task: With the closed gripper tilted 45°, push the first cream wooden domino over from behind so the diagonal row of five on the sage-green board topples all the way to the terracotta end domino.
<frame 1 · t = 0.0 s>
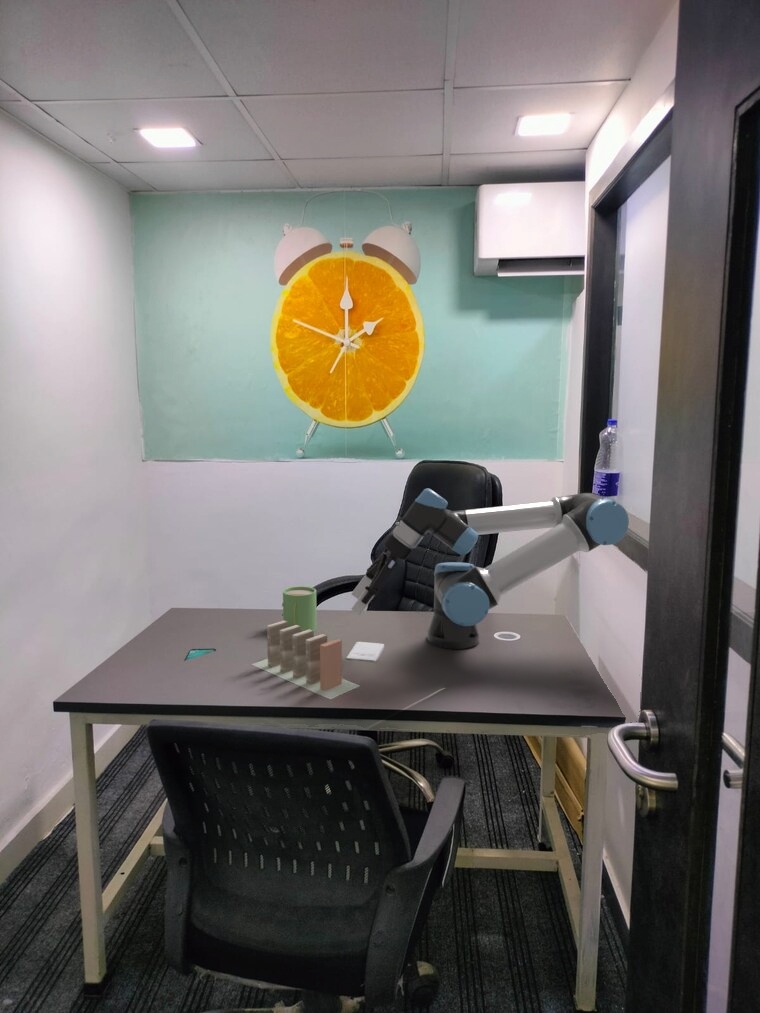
hand: (355, 604, 172), 15 cm above the table, tool tilted 35°, fingers open, 13 cm apart
domino 2: (290, 669, 166), point 1 cm above the table, touching board
external hard drive: (365, 656, 178), on the table
board: (303, 676, 162), on the table
domino 3: (303, 674, 162), point 1 cm above the table, touching board
domino 4: (316, 680, 159), point 1 cm above the table, touching board
domino 1: (278, 663, 169), point 1 cm above the table, touching board
mug: (298, 630, 197), on the table
smartphone: (198, 662, 173), on the table
domino 5: (331, 686, 156), point 1 cm above the table, touching board
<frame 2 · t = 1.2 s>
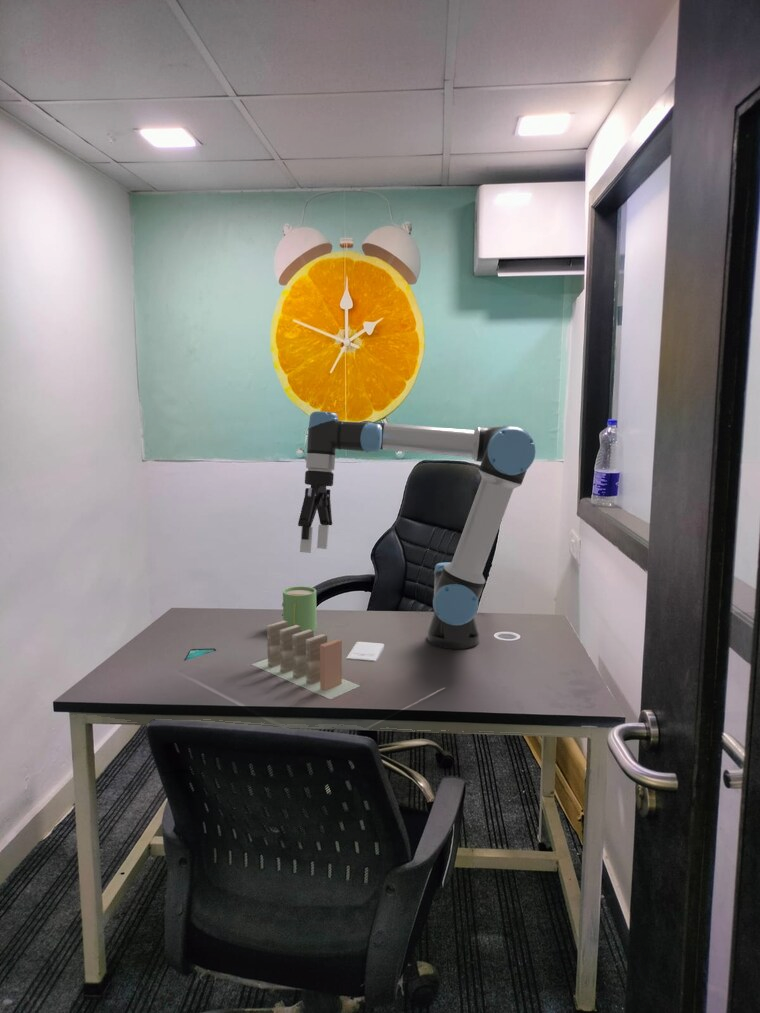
hand: (314, 550, 171), 30 cm above the table, tool pointing down, fingers open, 13 cm apart
nothing on the table moved.
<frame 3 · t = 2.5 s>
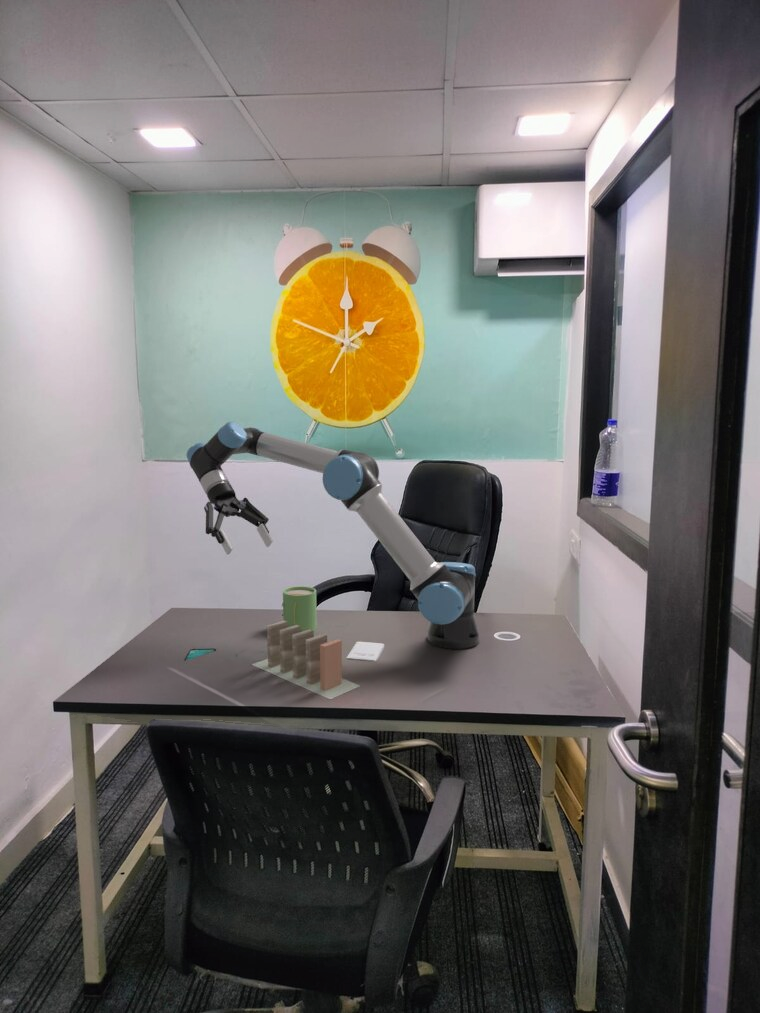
hand: (250, 547, 180), 28 cm above the table, tool tilted 45°, fingers open, 13 cm apart
nothing on the table moved.
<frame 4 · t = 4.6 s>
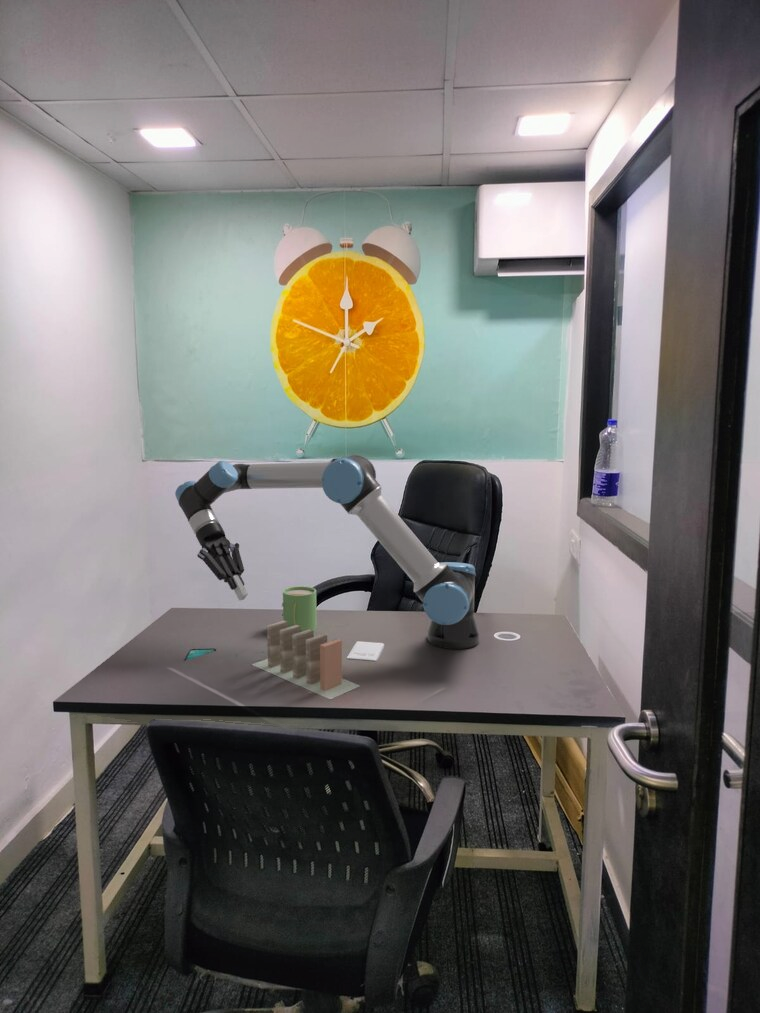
hand: (243, 597, 175), 16 cm above the table, tool tilted 45°, fingers closed
nothing on the table moved.
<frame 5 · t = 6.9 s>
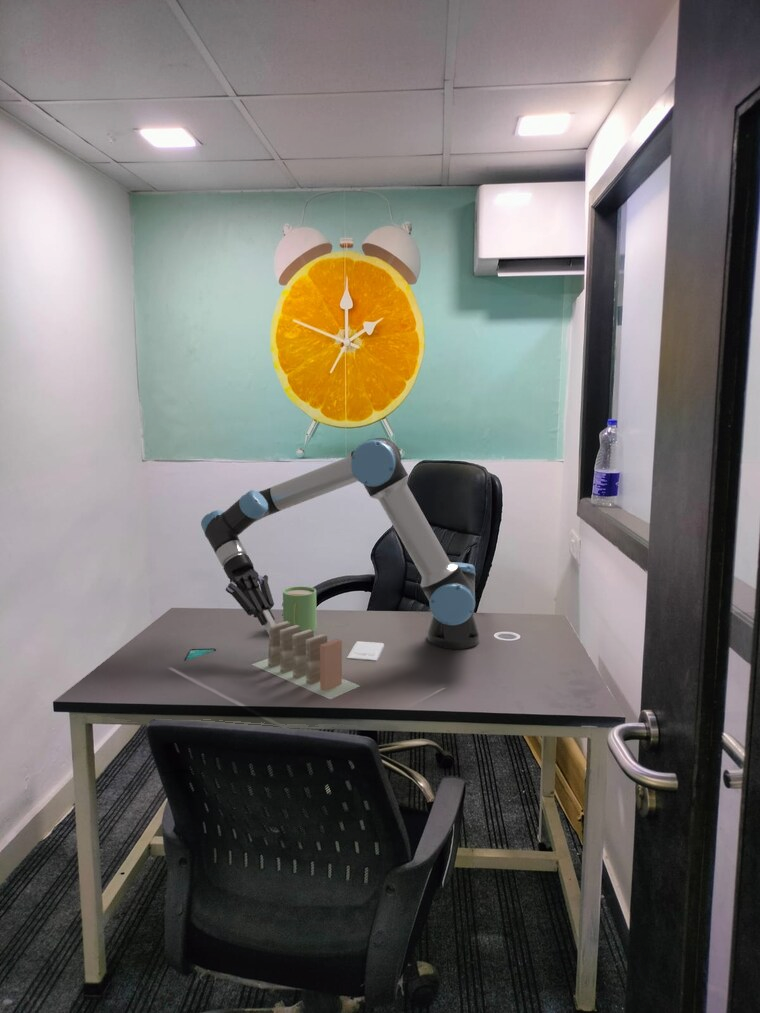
hand: (274, 633, 168), 9 cm above the table, tool tilted 45°, fingers closed
domino 1: (278, 663, 169), point 1 cm above the table, tilted 5°, touching board
everything else where it was.
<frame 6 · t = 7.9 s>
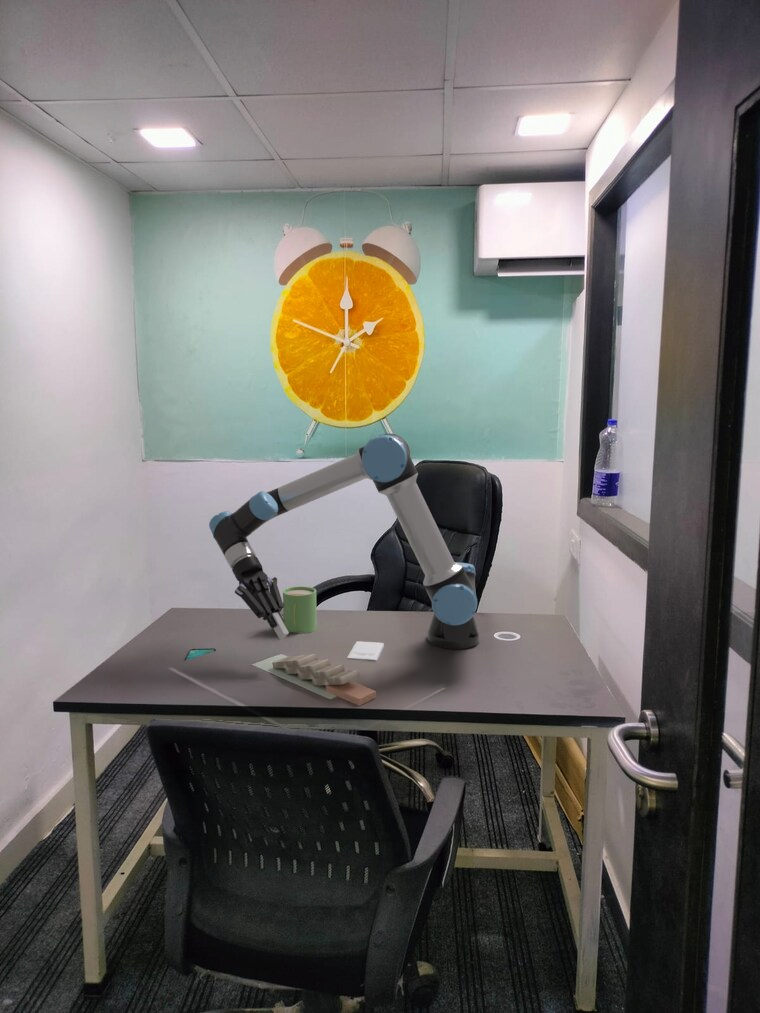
hand: (284, 636, 166), 9 cm above the table, tool tilted 45°, fingers closed
domino 2: (293, 667, 165), point 1 cm above the table, tilted 71°, touching board, domino 1, domino 3
domino 3: (306, 673, 161), point 1 cm above the table, tilted 71°, touching board, domino 2, domino 4
domino 4: (320, 678, 158), point 1 cm above the table, tilted 71°, touching domino 3, domino 5
domino 1: (281, 662, 168), point 1 cm above the table, tilted 71°, touching board, domino 2
domino 5: (334, 684, 155), point 1 cm above the table, tilted 90°, touching board, domino 4
everything else where it was.
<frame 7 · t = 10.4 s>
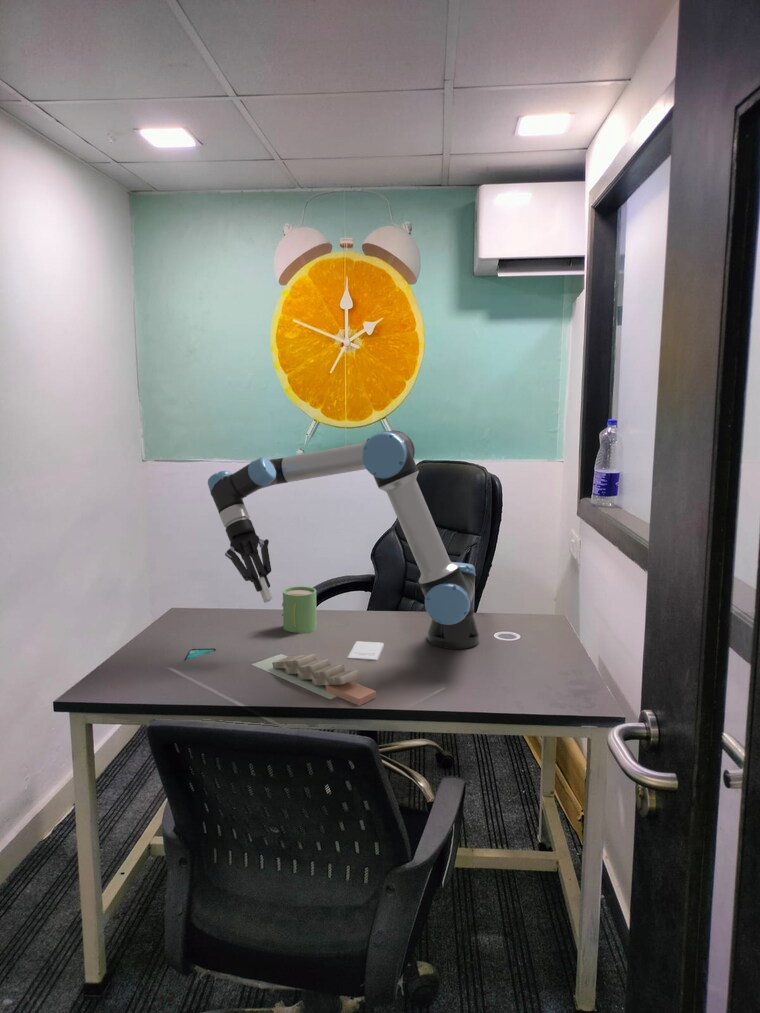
hand: (268, 600, 176), 15 cm above the table, tool tilted 35°, fingers closed
nothing on the table moved.
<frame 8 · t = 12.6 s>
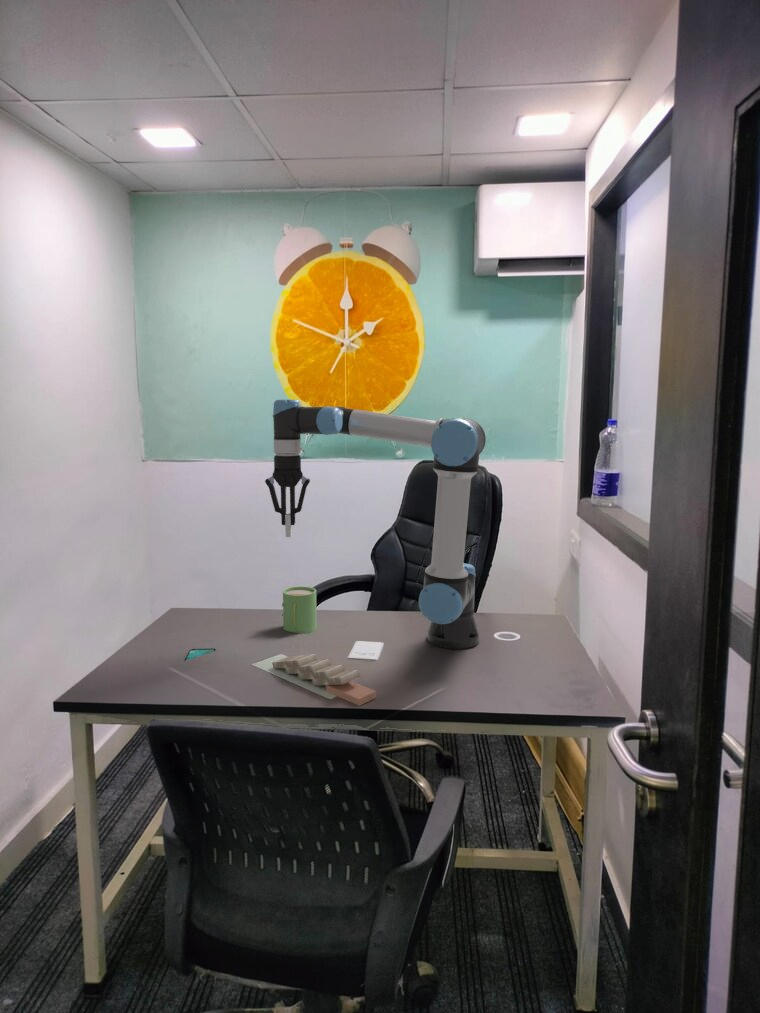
hand: (288, 536, 186), 30 cm above the table, tool pointing down, fingers closed
nothing on the table moved.
at the end: domino 5 tilted 90°; domino 1 tilted 71° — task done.
